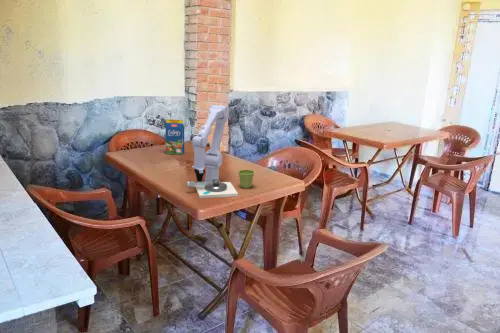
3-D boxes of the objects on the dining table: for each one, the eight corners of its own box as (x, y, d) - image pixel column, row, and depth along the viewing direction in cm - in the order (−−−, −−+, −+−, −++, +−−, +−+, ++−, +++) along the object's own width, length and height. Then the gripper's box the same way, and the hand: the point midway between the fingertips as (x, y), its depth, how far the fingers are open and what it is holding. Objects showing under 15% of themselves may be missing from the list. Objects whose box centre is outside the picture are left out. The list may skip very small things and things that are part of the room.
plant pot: (240, 189, 224) (240, 174, 221) (235, 184, 232) (236, 169, 230) (256, 188, 226) (256, 173, 224) (251, 183, 235) (252, 169, 233)
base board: (194, 186, 227) (194, 183, 226) (230, 184, 232) (230, 181, 231) (199, 198, 208) (199, 195, 208) (237, 196, 213) (237, 193, 213)
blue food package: (168, 152, 301) (167, 118, 294) (184, 153, 300) (184, 119, 293) (165, 154, 295) (165, 119, 288) (182, 155, 294) (181, 120, 287)
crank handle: (224, 184, 227) (224, 176, 226) (228, 191, 215) (229, 183, 214) (185, 185, 221) (185, 178, 220) (188, 193, 210) (187, 185, 209)
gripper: (190, 155, 225) (190, 178, 228) (193, 161, 211) (193, 186, 215) (203, 154, 227) (203, 178, 230) (207, 161, 213) (207, 186, 217)
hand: (199, 182), depth 223 cm, fingers closed
